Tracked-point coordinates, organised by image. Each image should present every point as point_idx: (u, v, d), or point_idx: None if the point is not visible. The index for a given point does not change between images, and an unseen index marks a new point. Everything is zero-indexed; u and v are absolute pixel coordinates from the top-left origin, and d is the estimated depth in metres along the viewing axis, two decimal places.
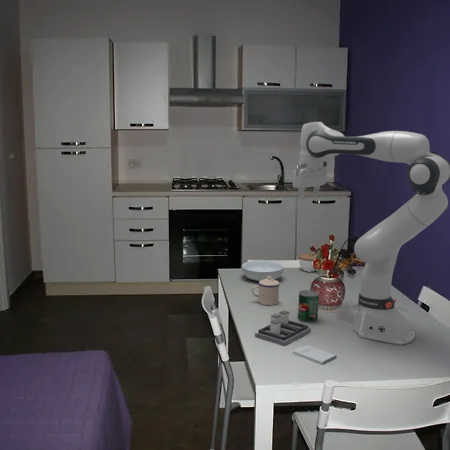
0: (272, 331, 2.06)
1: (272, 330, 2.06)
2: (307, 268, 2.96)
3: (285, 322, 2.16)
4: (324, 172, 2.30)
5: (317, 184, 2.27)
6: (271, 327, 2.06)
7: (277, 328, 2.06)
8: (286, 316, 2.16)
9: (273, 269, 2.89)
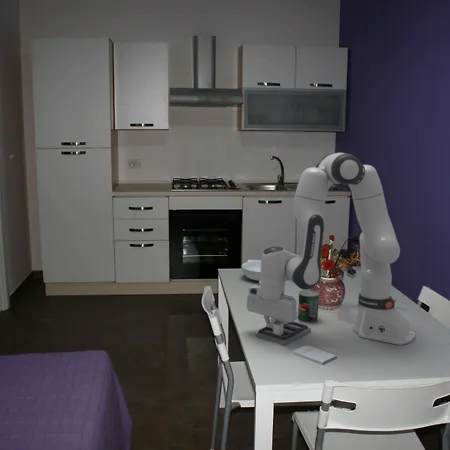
0: (275, 332, 2.05)
1: (275, 331, 2.05)
2: None
3: (285, 322, 2.16)
4: None
5: None
6: (274, 328, 2.05)
7: (280, 329, 2.05)
8: None
9: None
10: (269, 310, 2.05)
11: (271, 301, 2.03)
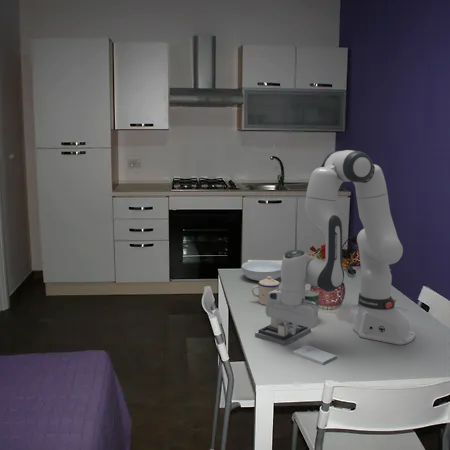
0: (280, 333, 2.04)
1: (280, 332, 2.04)
2: None
3: None
4: None
5: None
6: (279, 329, 2.04)
7: (285, 330, 2.03)
8: None
9: (273, 269, 2.89)
10: (289, 315, 2.00)
11: (292, 306, 1.97)
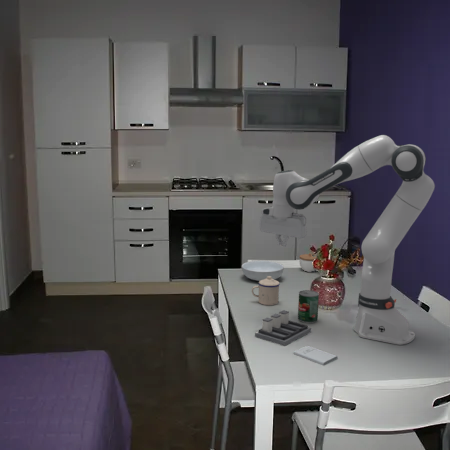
0: (264, 329, 2.08)
1: (264, 328, 2.08)
2: (307, 268, 2.96)
3: (285, 322, 2.16)
4: None
5: None
6: (263, 325, 2.08)
7: (269, 326, 2.08)
8: (286, 316, 2.16)
9: (273, 269, 2.89)
10: (280, 228, 2.23)
11: (283, 219, 2.21)
